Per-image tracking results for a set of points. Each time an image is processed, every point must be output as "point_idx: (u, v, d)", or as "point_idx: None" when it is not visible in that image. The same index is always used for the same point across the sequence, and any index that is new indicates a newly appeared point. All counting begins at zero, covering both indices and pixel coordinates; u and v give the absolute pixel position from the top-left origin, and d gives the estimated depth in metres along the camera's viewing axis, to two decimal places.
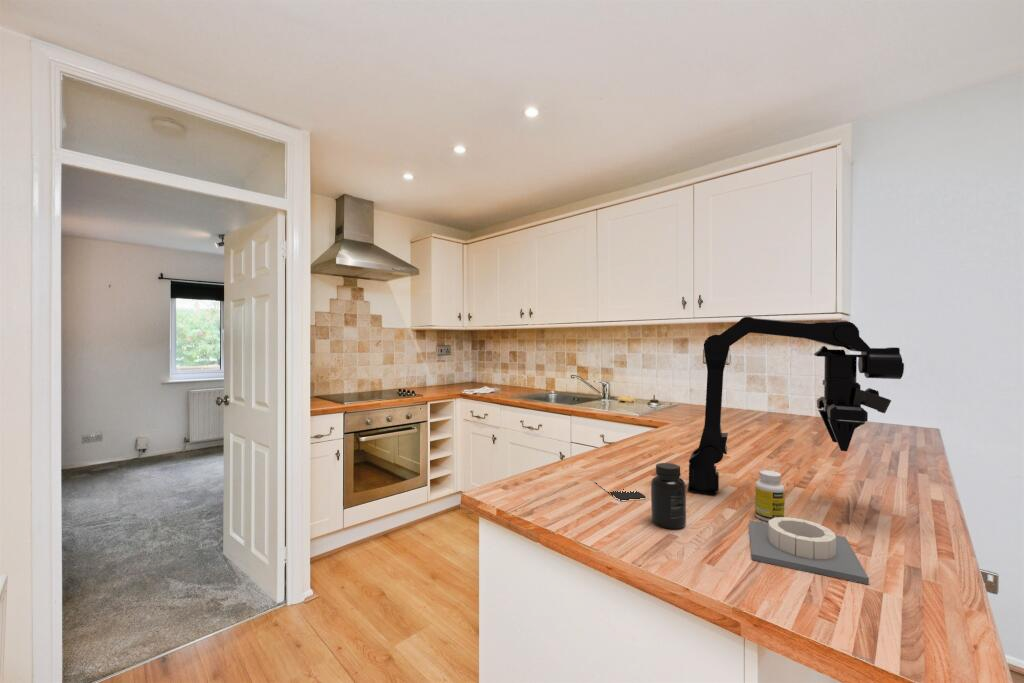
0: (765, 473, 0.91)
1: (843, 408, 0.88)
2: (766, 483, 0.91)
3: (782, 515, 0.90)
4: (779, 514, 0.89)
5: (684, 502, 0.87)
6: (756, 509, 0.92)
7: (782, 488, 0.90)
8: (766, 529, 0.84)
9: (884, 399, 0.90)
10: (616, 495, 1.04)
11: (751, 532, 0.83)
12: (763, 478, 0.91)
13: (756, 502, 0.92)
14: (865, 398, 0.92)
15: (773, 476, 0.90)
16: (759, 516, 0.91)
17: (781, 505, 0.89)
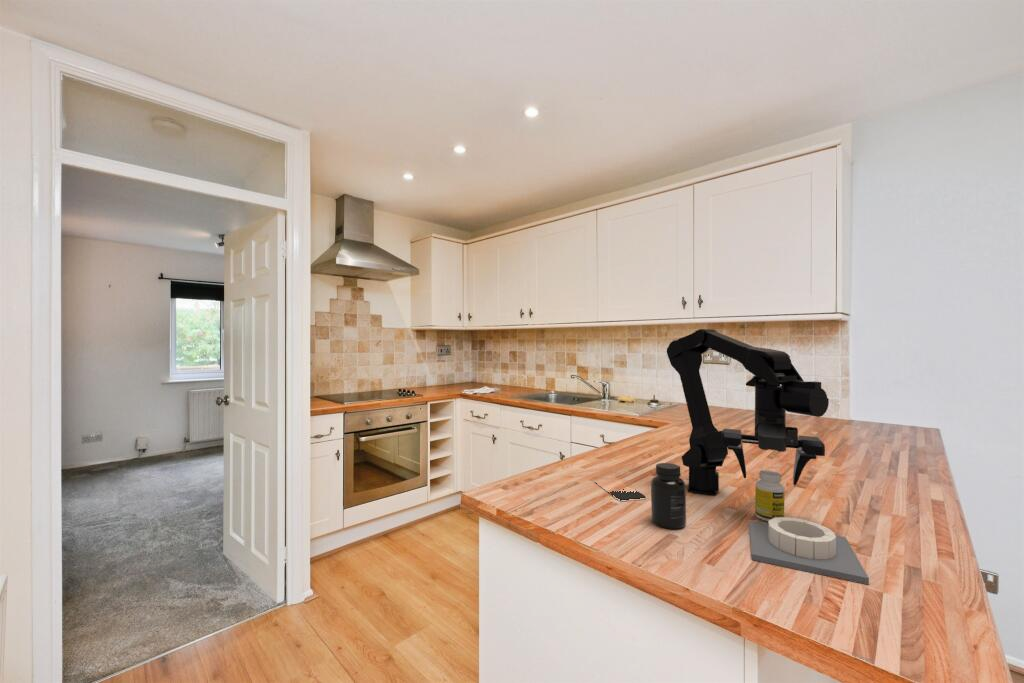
0: (765, 473, 0.91)
1: (722, 430, 0.97)
2: (766, 483, 0.91)
3: (782, 515, 0.90)
4: (779, 514, 0.89)
5: (684, 502, 0.87)
6: (756, 509, 0.92)
7: (782, 488, 0.90)
8: (766, 529, 0.84)
9: (758, 433, 0.87)
10: (616, 495, 1.04)
11: (751, 532, 0.83)
12: (763, 478, 0.91)
13: (756, 502, 0.92)
14: (756, 430, 0.90)
15: (773, 476, 0.90)
16: (759, 516, 0.91)
17: (781, 505, 0.89)
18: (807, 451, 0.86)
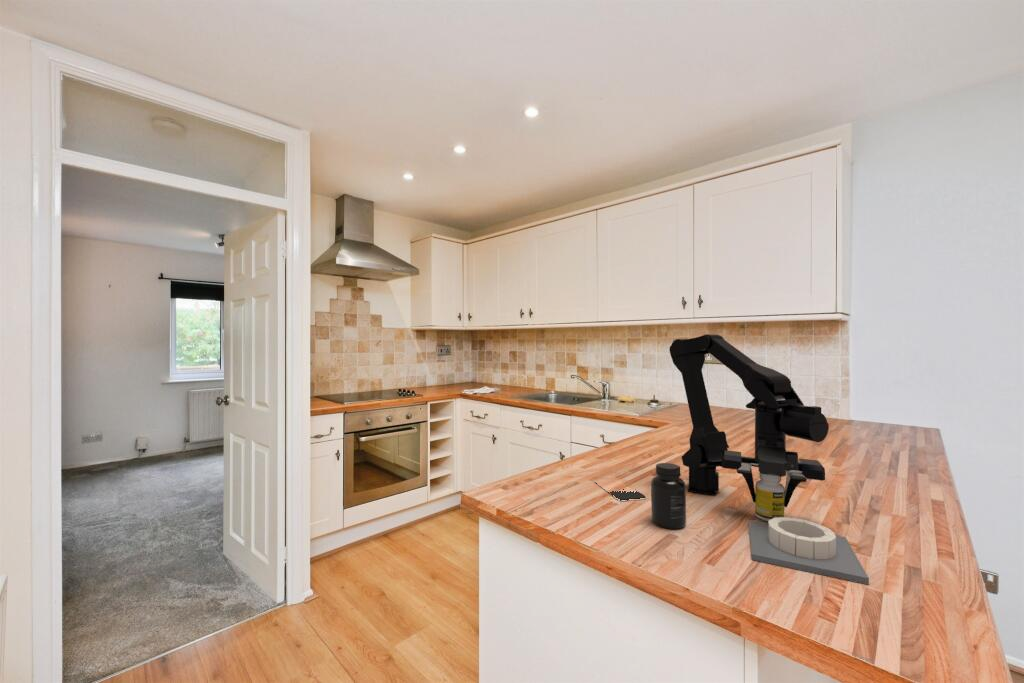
0: None
1: (722, 452, 0.97)
2: (766, 483, 0.91)
3: (782, 515, 0.90)
4: (779, 513, 0.89)
5: (684, 502, 0.87)
6: (756, 509, 0.92)
7: (782, 488, 0.90)
8: (766, 529, 0.84)
9: (758, 458, 0.87)
10: (616, 495, 1.04)
11: (751, 532, 0.83)
12: (763, 478, 0.91)
13: (756, 502, 0.92)
14: (756, 454, 0.90)
15: (773, 476, 0.90)
16: (759, 516, 0.91)
17: (781, 505, 0.89)
18: (807, 475, 0.86)
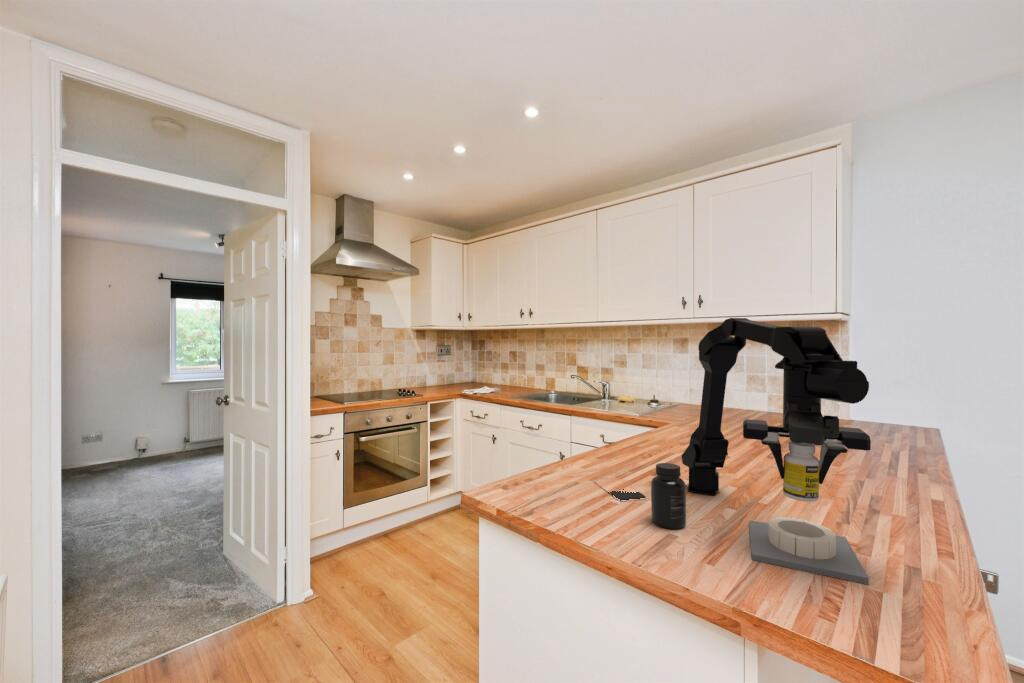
0: (796, 444, 0.77)
1: (744, 422, 0.83)
2: (797, 455, 0.77)
3: (817, 493, 0.75)
4: (813, 491, 0.75)
5: (684, 502, 0.87)
6: (785, 486, 0.78)
7: (817, 461, 0.75)
8: (766, 529, 0.84)
9: (790, 424, 0.72)
10: (616, 495, 1.04)
11: (751, 532, 0.83)
12: (794, 449, 0.77)
13: (785, 478, 0.78)
14: (786, 420, 0.75)
15: (806, 447, 0.76)
16: (789, 494, 0.77)
17: (815, 481, 0.75)
18: (849, 445, 0.72)
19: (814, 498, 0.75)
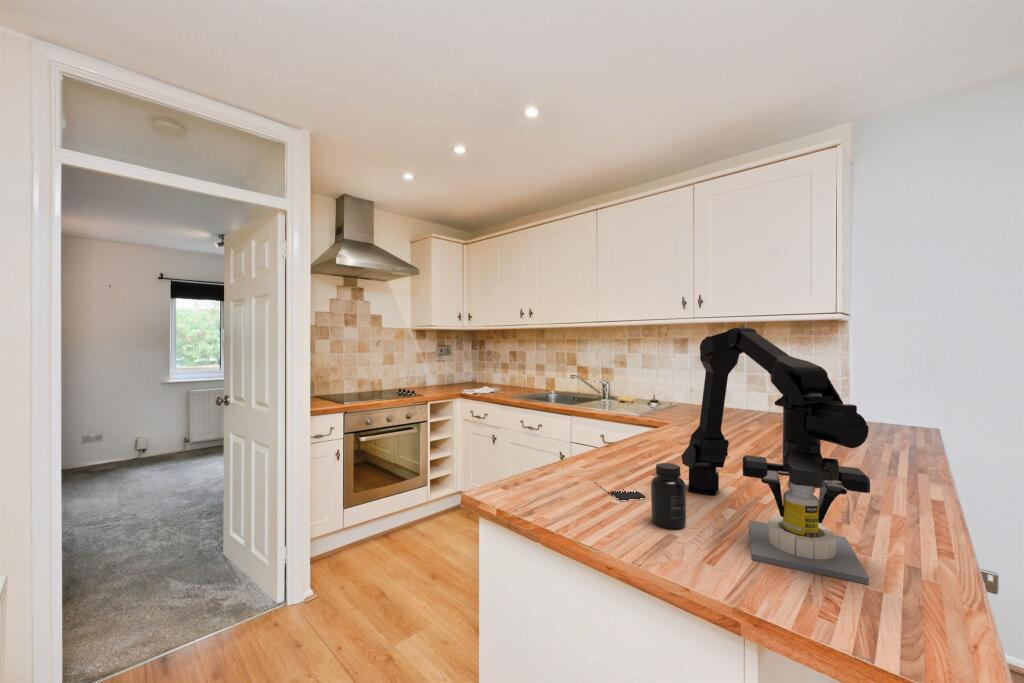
0: None
1: (743, 458, 0.83)
2: (796, 494, 0.77)
3: (816, 533, 0.75)
4: (812, 531, 0.75)
5: (684, 502, 0.87)
6: (784, 525, 0.78)
7: (816, 501, 0.76)
8: (766, 529, 0.84)
9: (789, 465, 0.72)
10: (616, 495, 1.04)
11: (751, 532, 0.83)
12: (793, 488, 0.77)
13: (784, 517, 0.78)
14: (786, 460, 0.75)
15: (805, 486, 0.76)
16: None
17: (815, 521, 0.75)
18: (848, 487, 0.72)
19: None
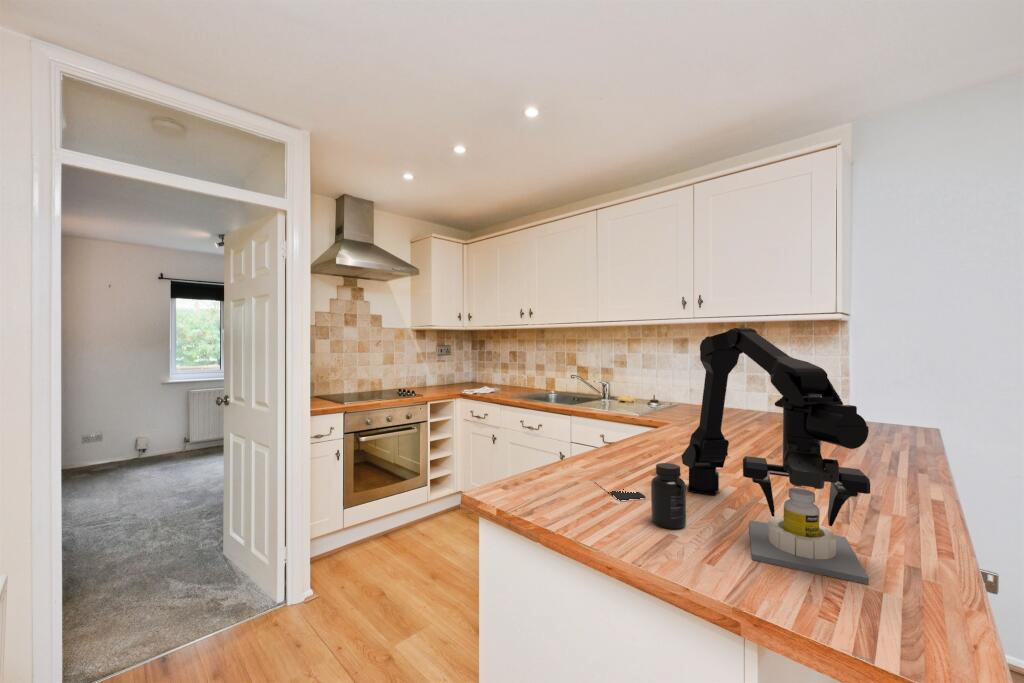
0: (796, 492, 0.77)
1: (744, 459, 0.83)
2: (797, 503, 0.77)
3: None
4: None
5: (684, 502, 0.87)
6: None
7: (817, 510, 0.75)
8: (766, 529, 0.84)
9: (790, 466, 0.72)
10: (616, 495, 1.04)
11: (751, 532, 0.83)
12: (793, 498, 0.77)
13: (785, 526, 0.78)
14: (786, 461, 0.75)
15: (806, 496, 0.76)
16: None
17: (815, 530, 0.75)
18: (849, 487, 0.72)
19: None
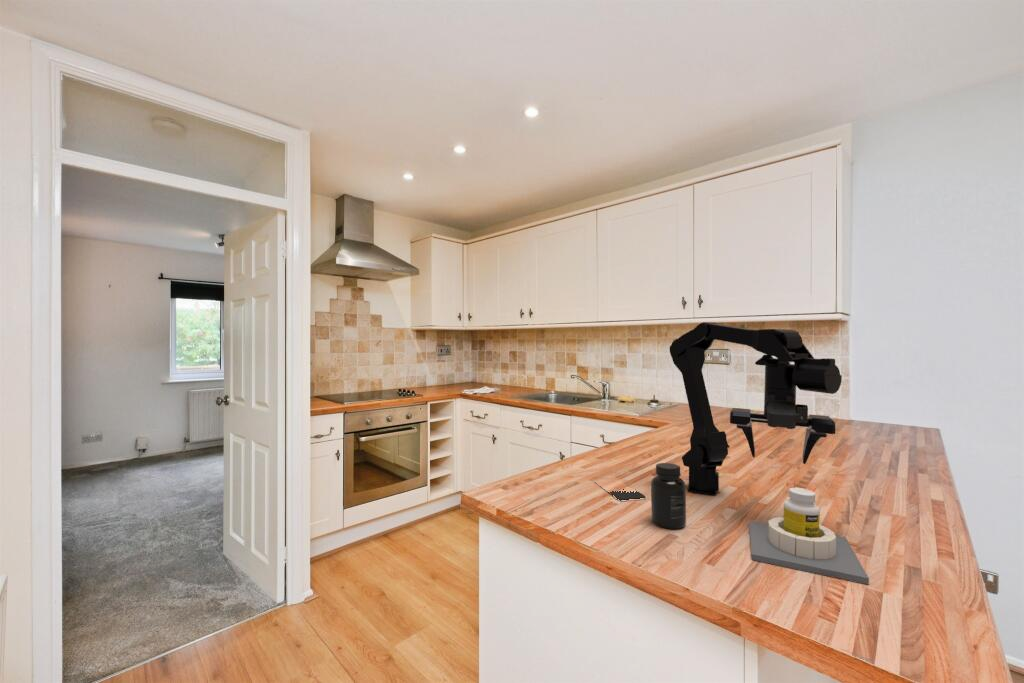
0: (796, 491, 0.77)
1: (731, 410, 0.97)
2: (797, 503, 0.77)
3: None
4: None
5: (684, 502, 0.87)
6: None
7: (817, 510, 0.75)
8: (766, 529, 0.84)
9: (767, 411, 0.86)
10: (616, 495, 1.04)
11: (751, 532, 0.83)
12: (794, 497, 0.77)
13: (785, 526, 0.78)
14: (766, 408, 0.89)
15: (806, 495, 0.76)
16: None
17: (816, 530, 0.75)
18: (817, 429, 0.86)
19: None
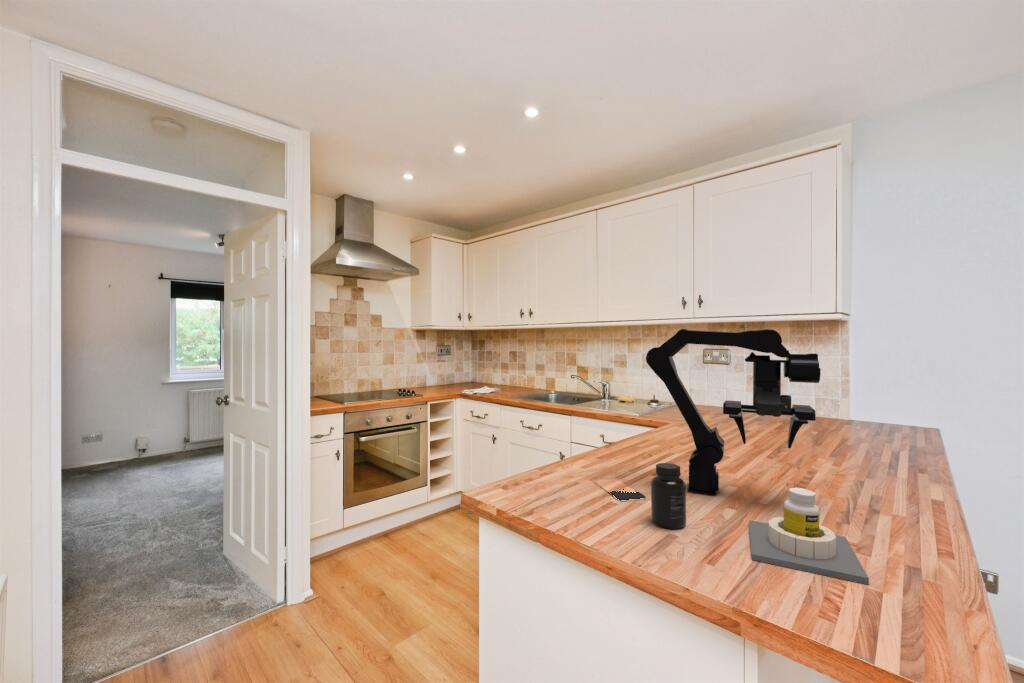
0: (796, 492, 0.77)
1: (724, 402, 1.07)
2: (797, 503, 0.77)
3: None
4: None
5: (684, 502, 0.87)
6: None
7: (817, 510, 0.75)
8: (766, 529, 0.84)
9: (756, 401, 0.97)
10: (616, 495, 1.04)
11: (751, 532, 0.83)
12: (794, 498, 0.77)
13: (785, 526, 0.78)
14: (754, 399, 1.00)
15: (806, 496, 0.76)
16: None
17: (815, 530, 0.75)
18: (800, 417, 0.97)
19: None
